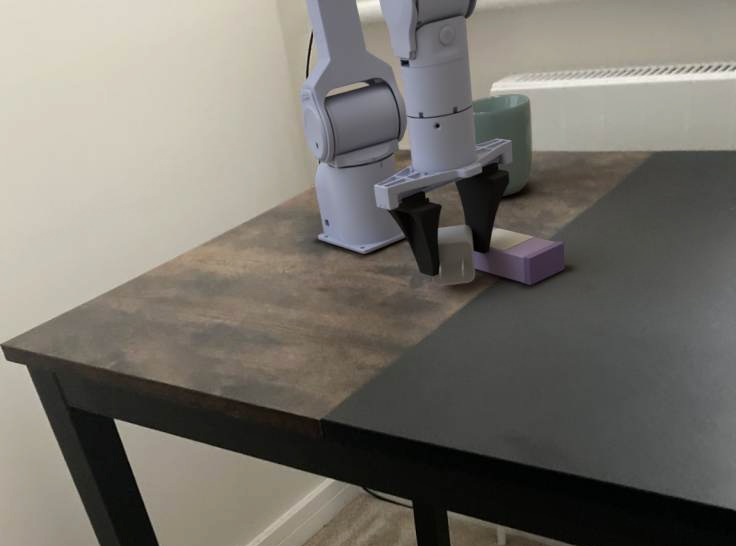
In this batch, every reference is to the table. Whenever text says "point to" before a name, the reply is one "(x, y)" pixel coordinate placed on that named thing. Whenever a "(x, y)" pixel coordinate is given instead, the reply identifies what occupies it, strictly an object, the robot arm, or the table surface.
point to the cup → (507, 133)
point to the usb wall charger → (455, 256)
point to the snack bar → (521, 257)
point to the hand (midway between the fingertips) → (454, 262)
